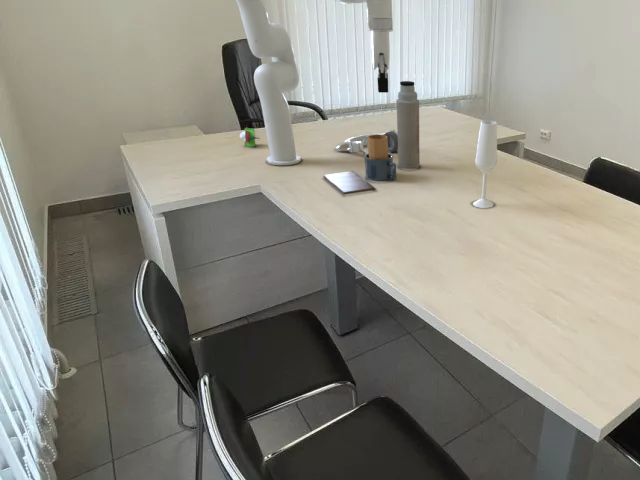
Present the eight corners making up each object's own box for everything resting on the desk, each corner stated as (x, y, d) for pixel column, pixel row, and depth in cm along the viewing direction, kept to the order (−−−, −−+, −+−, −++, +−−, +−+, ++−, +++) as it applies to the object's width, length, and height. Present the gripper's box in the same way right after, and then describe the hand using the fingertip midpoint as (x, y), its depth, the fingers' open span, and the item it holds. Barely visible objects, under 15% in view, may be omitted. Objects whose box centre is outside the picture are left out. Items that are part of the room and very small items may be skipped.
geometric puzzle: (247, 136, 219) (239, 122, 211) (263, 137, 218) (255, 123, 211) (244, 151, 217) (235, 137, 210) (260, 152, 217) (251, 138, 209)
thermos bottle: (421, 165, 202) (421, 80, 184) (416, 171, 196) (415, 84, 178) (401, 163, 203) (399, 79, 186) (395, 169, 197) (393, 82, 179)
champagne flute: (478, 209, 167) (483, 125, 152) (469, 202, 172) (473, 120, 157) (497, 206, 170) (504, 124, 154) (487, 199, 174) (493, 119, 159)
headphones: (410, 148, 217) (371, 146, 228) (408, 128, 213) (368, 126, 224) (374, 160, 203) (334, 157, 214) (371, 138, 199) (330, 136, 210)
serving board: (323, 178, 186) (323, 175, 186) (352, 174, 191) (352, 171, 190) (344, 196, 173) (343, 192, 172) (375, 191, 178) (374, 187, 177)
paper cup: (367, 175, 189) (364, 135, 181) (384, 173, 191) (382, 133, 183) (374, 180, 184) (372, 140, 176) (392, 178, 187) (390, 138, 179)
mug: (360, 178, 188) (358, 155, 183) (380, 172, 194) (379, 150, 189) (386, 186, 181) (385, 163, 177) (405, 180, 187) (405, 158, 182)
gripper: (368, 22, 167) (372, 84, 178) (367, 27, 154) (371, 94, 165) (392, 22, 168) (394, 85, 179) (392, 27, 154) (395, 94, 165)
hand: (383, 89), depth 172 cm, fingers open, 9 cm apart
